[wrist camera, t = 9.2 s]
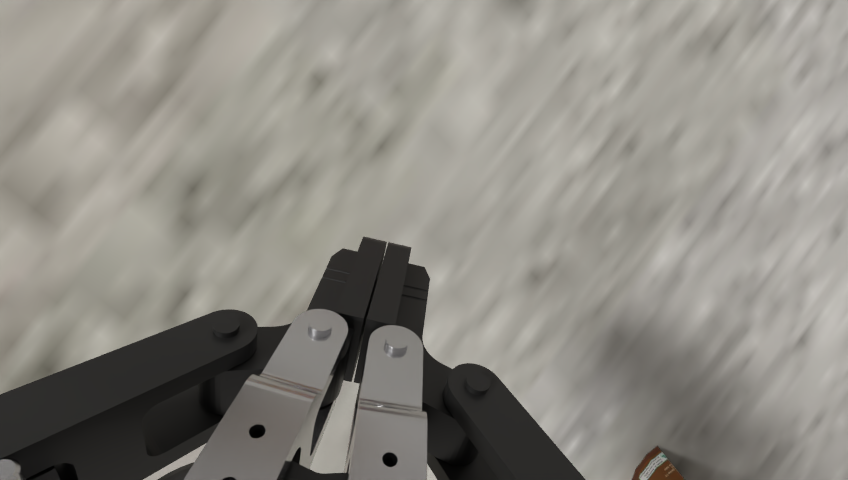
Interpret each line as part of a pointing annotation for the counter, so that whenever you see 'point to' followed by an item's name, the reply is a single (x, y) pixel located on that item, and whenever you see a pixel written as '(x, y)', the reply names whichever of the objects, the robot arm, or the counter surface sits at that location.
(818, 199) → the counter surface
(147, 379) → the robot arm
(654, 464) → the food container
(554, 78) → the counter surface
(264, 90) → the counter surface
